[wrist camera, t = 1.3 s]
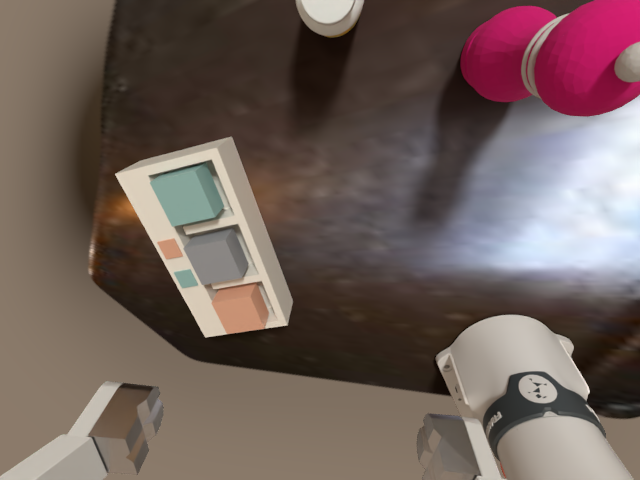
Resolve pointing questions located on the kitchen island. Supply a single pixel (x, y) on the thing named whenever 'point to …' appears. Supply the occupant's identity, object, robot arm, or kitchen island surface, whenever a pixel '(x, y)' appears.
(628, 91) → the pepper mill
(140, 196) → the three-slot colour tray
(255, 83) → the kitchen island surface
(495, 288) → the kitchen island surface
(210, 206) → the teal key
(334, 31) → the supplement bottle
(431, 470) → the robot arm
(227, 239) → the slate key
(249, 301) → the terracotta key
